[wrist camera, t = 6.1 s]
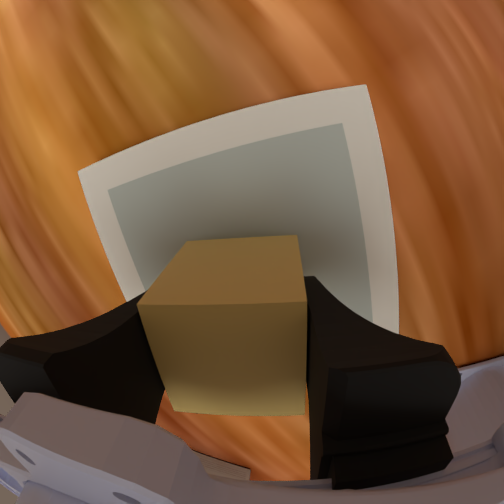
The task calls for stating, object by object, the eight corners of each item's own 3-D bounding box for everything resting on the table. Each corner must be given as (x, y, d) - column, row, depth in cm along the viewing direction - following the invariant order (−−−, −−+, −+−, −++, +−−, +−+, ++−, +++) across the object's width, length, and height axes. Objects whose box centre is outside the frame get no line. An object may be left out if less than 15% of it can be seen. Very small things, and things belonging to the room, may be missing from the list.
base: (355, 90, 12) (366, 84, 11) (389, 332, 17) (398, 353, 15) (97, 166, 15) (76, 171, 13) (180, 367, 20) (171, 388, 18)
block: (297, 234, 12) (307, 301, 7) (299, 328, 14) (304, 414, 9) (187, 240, 13) (136, 304, 8) (203, 330, 14) (174, 410, 10)
